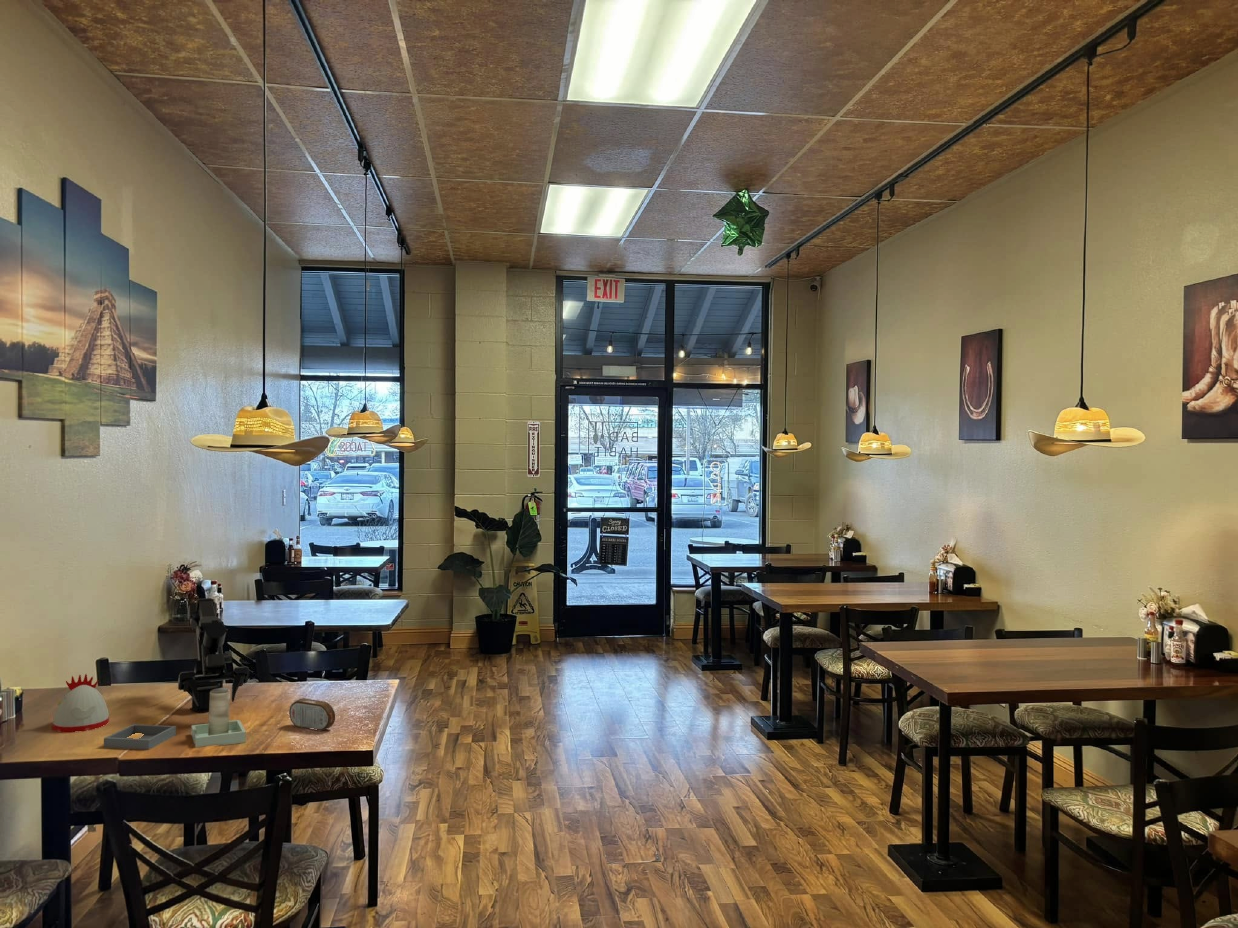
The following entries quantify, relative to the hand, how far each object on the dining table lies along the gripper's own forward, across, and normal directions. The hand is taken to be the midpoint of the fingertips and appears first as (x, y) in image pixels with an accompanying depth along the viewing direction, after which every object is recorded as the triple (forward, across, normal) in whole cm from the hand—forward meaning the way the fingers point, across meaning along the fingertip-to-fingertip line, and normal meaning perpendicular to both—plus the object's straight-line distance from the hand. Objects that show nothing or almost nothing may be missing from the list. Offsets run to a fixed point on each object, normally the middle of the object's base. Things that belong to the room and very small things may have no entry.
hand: (215, 702), depth 243 cm
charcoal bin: (+7, -19, +4) cm, 21 cm away
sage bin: (+12, 0, 0) cm, 12 cm away
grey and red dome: (-10, -33, +22) cm, 41 cm away
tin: (+13, +25, -1) cm, 28 cm away
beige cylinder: (+11, 0, 0) cm, 11 cm away
